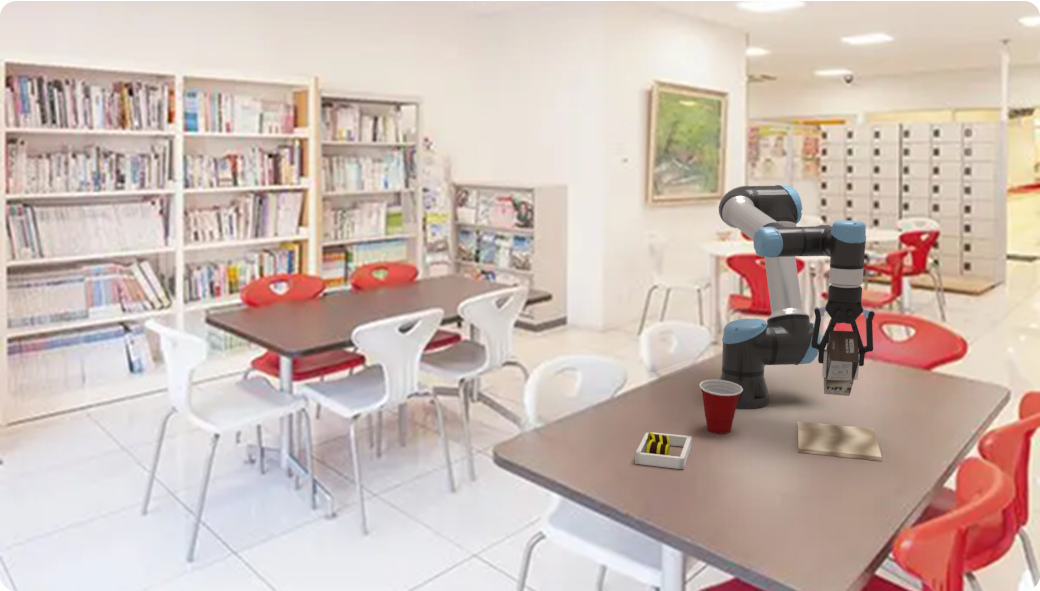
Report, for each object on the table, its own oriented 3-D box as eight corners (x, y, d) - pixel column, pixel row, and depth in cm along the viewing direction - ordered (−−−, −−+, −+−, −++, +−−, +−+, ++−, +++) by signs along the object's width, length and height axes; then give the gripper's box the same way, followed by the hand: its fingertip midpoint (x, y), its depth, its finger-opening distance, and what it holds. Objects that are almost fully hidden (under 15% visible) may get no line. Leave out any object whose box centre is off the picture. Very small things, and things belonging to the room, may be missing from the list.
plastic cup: (717, 440, 191) (719, 393, 188) (689, 427, 200) (690, 383, 198) (750, 433, 196) (752, 387, 193) (721, 420, 205) (722, 377, 203)
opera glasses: (669, 465, 176) (669, 444, 175) (646, 464, 177) (646, 443, 176) (669, 449, 185) (669, 430, 184) (647, 448, 186) (647, 429, 185)
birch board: (798, 452, 182) (798, 448, 182) (797, 425, 201) (797, 421, 201) (881, 461, 177) (881, 456, 176) (872, 432, 195) (873, 428, 195)
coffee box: (850, 396, 193) (859, 363, 180) (823, 394, 195) (830, 361, 182) (849, 365, 198) (858, 330, 185) (822, 363, 200) (829, 329, 187)
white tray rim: (635, 463, 177) (635, 453, 176) (646, 441, 191) (646, 431, 190) (683, 469, 173) (683, 458, 173) (691, 446, 187) (691, 436, 187)
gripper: (888, 284, 186) (881, 376, 190) (802, 281, 192) (797, 370, 196) (891, 289, 179) (885, 384, 183) (802, 285, 185) (798, 378, 189)
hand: (839, 377), depth 190 cm, fingers closed on coffee box, 7 cm apart
